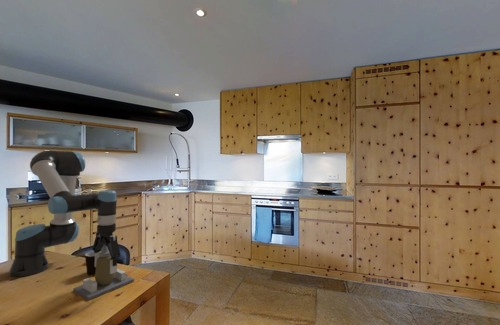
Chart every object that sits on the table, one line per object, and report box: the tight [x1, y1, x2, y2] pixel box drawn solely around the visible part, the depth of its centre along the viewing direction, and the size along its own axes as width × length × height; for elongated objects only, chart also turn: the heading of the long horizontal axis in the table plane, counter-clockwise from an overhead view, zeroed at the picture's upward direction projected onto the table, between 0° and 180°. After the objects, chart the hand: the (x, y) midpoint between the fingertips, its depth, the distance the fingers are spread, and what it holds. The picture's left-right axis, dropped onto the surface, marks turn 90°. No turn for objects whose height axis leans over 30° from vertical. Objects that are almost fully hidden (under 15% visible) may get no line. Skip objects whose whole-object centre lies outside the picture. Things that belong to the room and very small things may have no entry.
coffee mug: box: [84, 250, 102, 276], centre depth 126 cm, size 12×9×10 cm
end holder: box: [72, 268, 135, 301], centre depth 111 cm, size 14×20×5 cm
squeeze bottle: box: [94, 244, 115, 286], centre depth 111 cm, size 8×8×18 cm
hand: (105, 269), depth 111 cm, fingers open, 13 cm apart
